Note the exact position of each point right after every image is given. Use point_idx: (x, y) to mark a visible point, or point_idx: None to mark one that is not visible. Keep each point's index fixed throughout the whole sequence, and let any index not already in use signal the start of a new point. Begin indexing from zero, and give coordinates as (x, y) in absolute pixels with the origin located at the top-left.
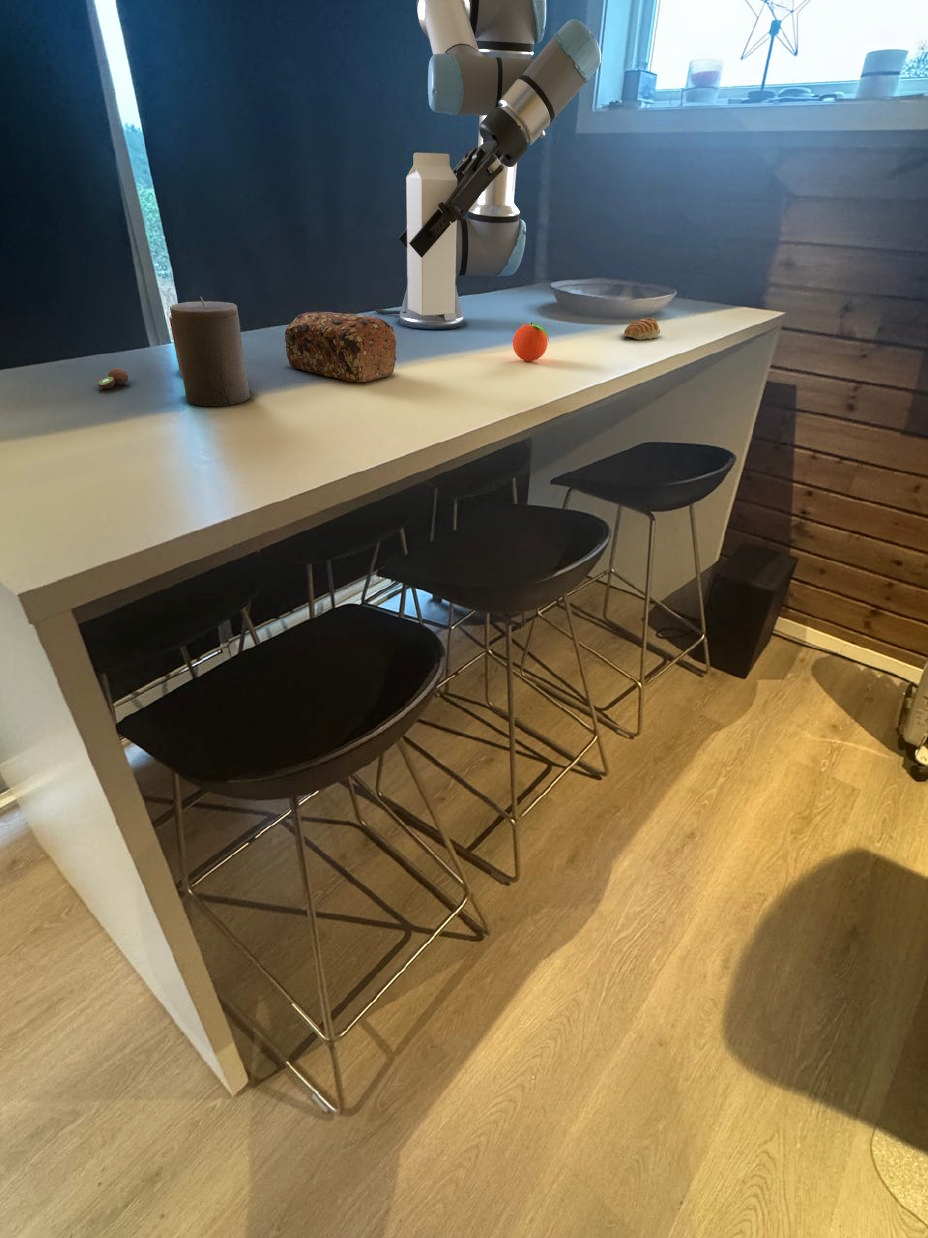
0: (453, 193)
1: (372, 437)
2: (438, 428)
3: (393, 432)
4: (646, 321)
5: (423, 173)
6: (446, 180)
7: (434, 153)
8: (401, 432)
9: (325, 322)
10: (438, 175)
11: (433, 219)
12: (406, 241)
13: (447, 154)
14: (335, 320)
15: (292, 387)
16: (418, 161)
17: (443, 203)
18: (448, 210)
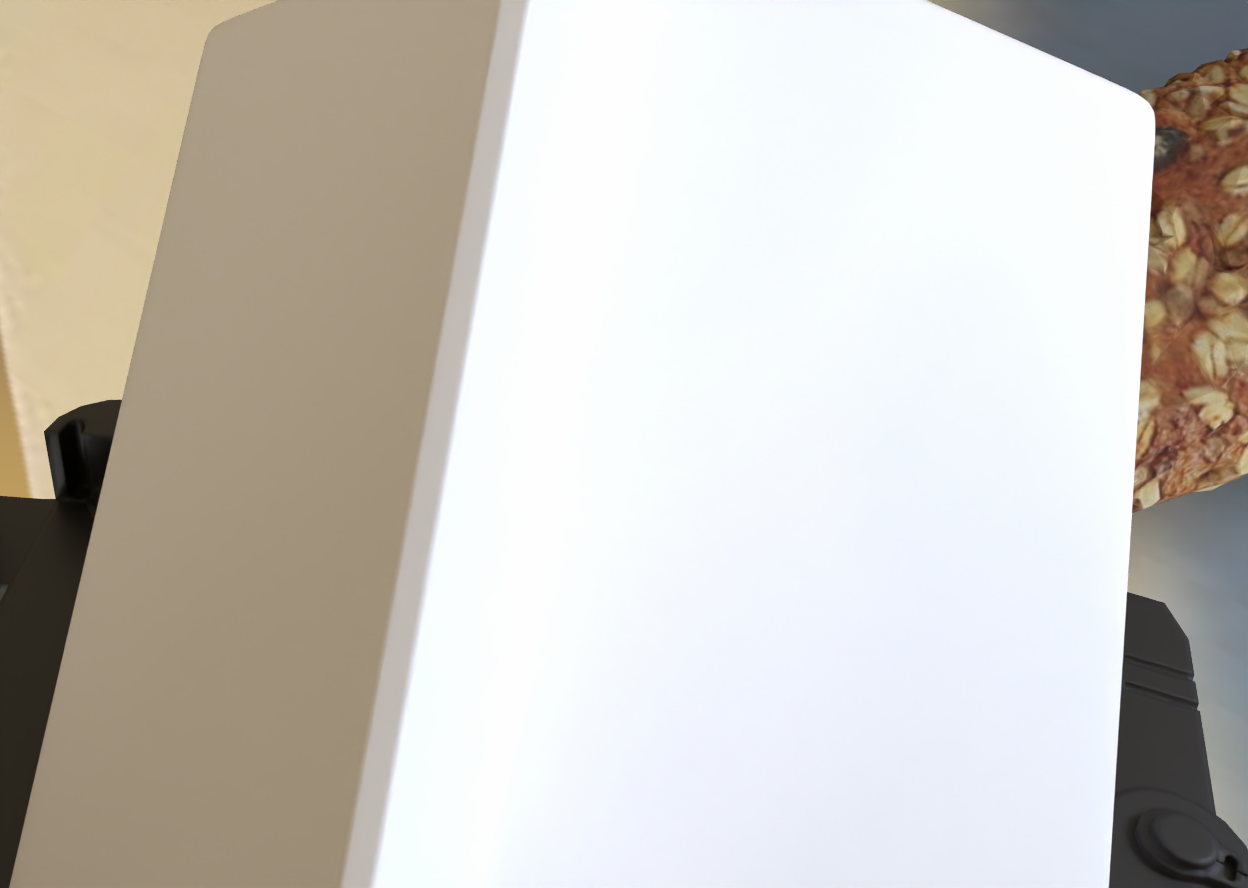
0: (23, 724)
1: (168, 41)
2: (110, 310)
3: (171, 132)
4: None
5: (297, 97)
6: (64, 651)
7: (405, 545)
8: (154, 159)
9: (1215, 105)
10: (179, 496)
11: None
12: None
13: None
14: (1163, 144)
15: (969, 3)
16: None
17: (47, 449)
18: (14, 506)
